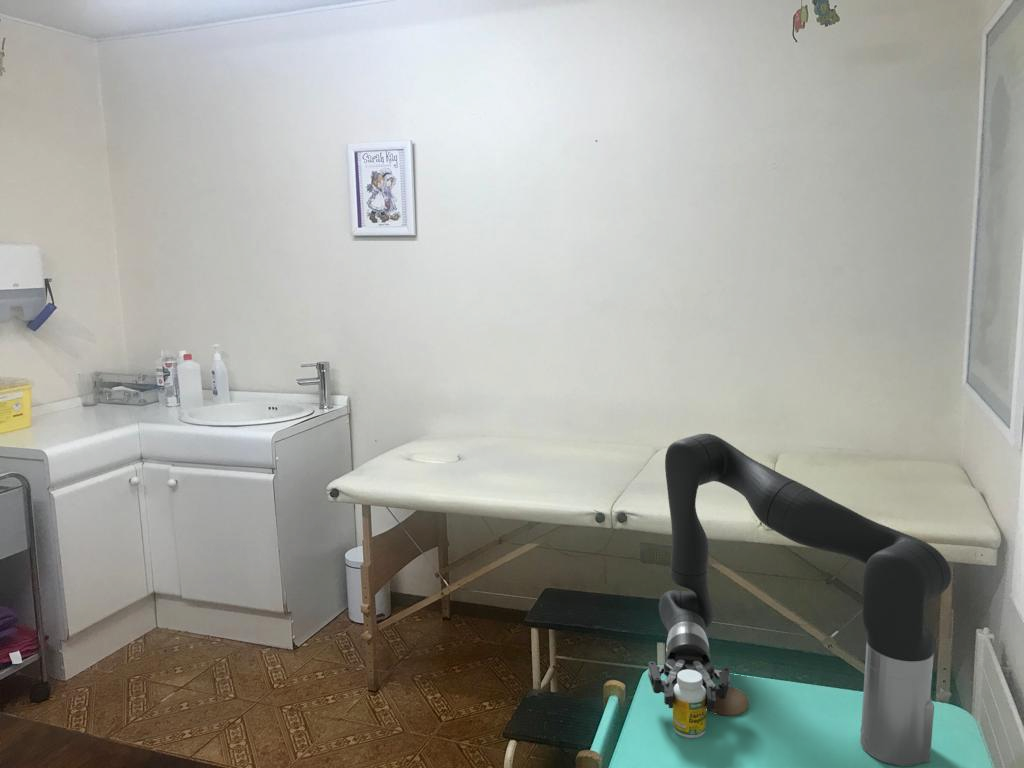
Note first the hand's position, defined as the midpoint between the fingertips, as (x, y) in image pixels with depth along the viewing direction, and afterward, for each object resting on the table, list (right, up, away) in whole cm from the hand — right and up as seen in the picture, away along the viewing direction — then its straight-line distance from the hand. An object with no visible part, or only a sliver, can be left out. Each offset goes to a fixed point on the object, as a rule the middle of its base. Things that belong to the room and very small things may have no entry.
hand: (690, 704), depth 129 cm
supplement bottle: (+1, -6, +4) cm, 7 cm away
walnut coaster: (+8, -4, +11) cm, 14 cm away
